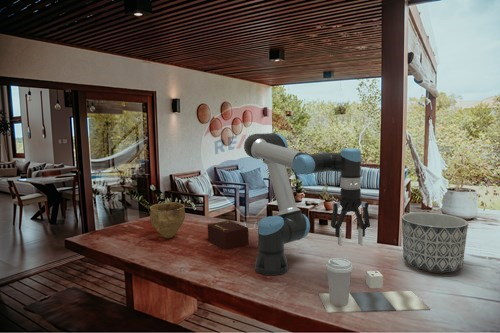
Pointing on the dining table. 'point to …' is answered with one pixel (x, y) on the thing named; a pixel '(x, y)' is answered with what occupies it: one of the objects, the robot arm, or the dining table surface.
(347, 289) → the coffee cup
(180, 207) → the bowl
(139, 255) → the dining table surface
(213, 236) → the box
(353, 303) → the track
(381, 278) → the die
